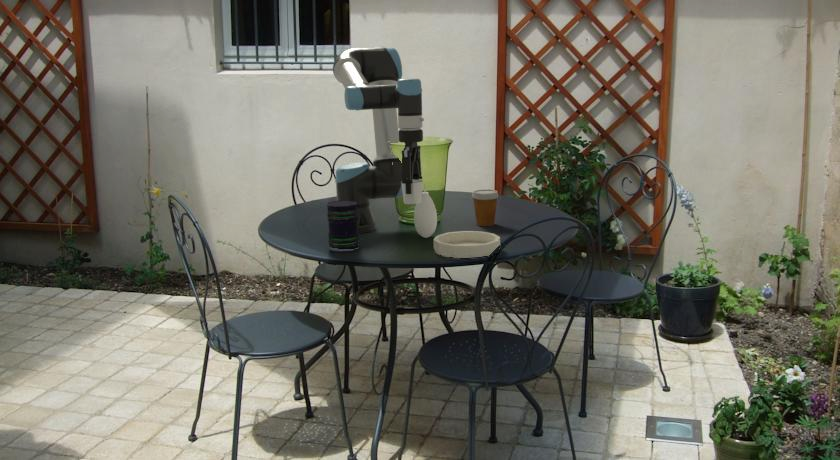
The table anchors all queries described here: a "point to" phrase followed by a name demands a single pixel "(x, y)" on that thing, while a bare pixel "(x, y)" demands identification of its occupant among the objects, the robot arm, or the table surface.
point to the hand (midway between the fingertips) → (412, 201)
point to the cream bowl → (466, 244)
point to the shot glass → (415, 191)
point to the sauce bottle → (425, 216)
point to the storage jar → (343, 224)
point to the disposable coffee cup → (485, 206)
